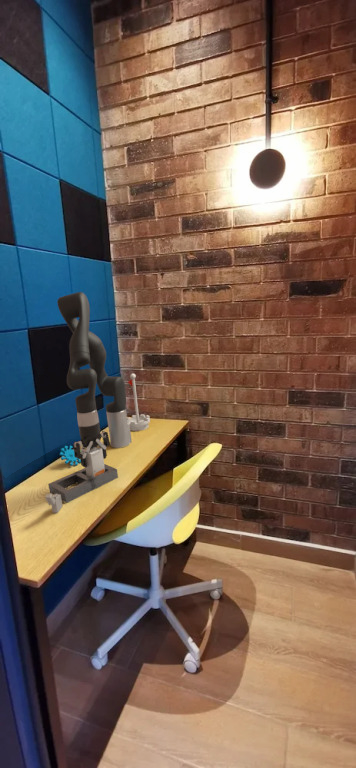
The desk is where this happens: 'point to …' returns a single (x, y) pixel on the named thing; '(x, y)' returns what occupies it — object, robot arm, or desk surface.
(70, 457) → the blue virus model
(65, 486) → the cinder block
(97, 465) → the skincare box
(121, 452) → the desk surface
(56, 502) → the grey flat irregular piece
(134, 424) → the flag stand
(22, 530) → the desk surface
